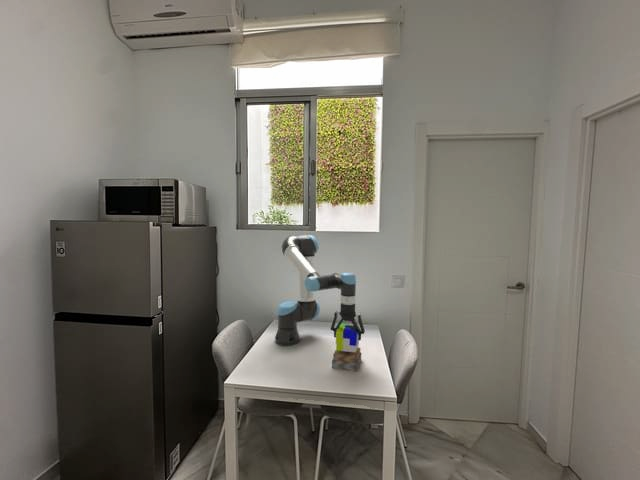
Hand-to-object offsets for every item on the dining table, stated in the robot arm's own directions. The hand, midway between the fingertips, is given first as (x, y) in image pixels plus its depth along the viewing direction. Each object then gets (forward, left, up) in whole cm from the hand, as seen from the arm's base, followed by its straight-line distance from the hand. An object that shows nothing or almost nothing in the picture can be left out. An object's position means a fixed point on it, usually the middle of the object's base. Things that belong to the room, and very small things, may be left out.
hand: (347, 344), depth 160 cm
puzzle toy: (0, 0, -2) cm, 2 cm away
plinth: (0, 0, -10) cm, 10 cm away
